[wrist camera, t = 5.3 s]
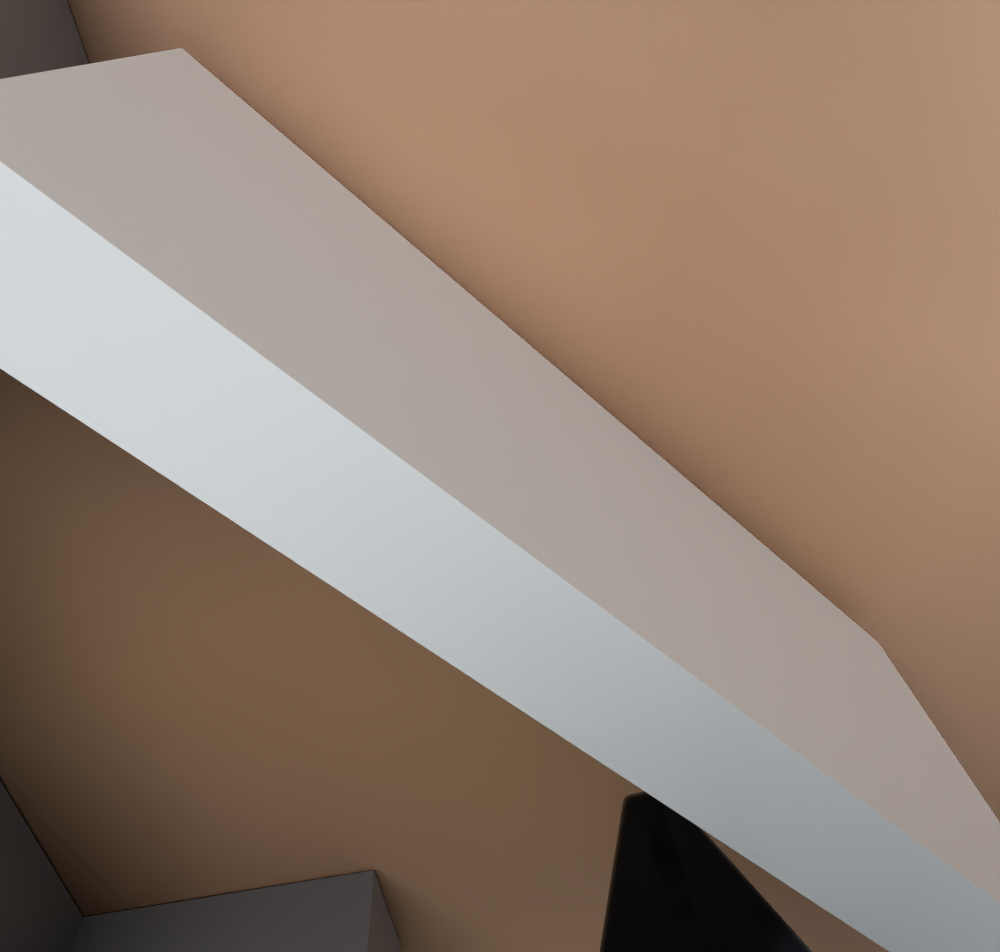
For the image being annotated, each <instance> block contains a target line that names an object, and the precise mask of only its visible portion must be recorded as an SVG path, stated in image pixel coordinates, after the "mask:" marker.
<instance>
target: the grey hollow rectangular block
mask: <svg viewBox="0 0 1000 952" xmlns="http://www.w3.org/2000/svg"><path fill="white" fill-rule="evenodd" d="M85 64H89V62H88V59H87V56H86V53H85V50H84V48H83V45H82V42H81V39H80V36H79V33H78V31H77V28H76V25H75V22H74V19H73V16H72V14H71V11H70V8H69V5H68V2H67V0H0V79H4V78H10V77H16V76H21V75H27V74H33V73H39V72H45V71H50V70H56V69H62V68H68V67H74V66H79V65H85ZM0 952H400V943H399V940H398V937H397V934H396V931H395V929H394V926H393V923H392V920H391V917H390V914H389V912H388V909H387V906H386V903H385V900H384V897H383V895H382V892H381V889H380V886H379V883H378V880H377V878H376V875H375V872H374V870H373V871H366V872H360V873H354V874H348V875H342V876H335V877H329V878H323V879H317V880H311V881H304V882H298V883H292V884H286V885H280V886H274V887H267V888H261V889H255V890H249V891H243V892H236V893H230V894H224V895H218V896H212V897H205V898H199V899H193V900H187V901H181V902H175V903H168V904H162V905H156V906H150V907H144V908H137V909H131V910H125V911H119V912H113V913H106V914H100V915H94V916H88V917H83V916H82V915H81V913H80V912H79V910H78V908H77V907H76V905H75V903H74V902H73V900H72V898H71V897H70V895H69V893H68V892H67V890H66V888H65V887H64V885H63V883H62V882H61V880H60V879H59V877H58V875H57V874H56V872H55V870H54V869H53V867H52V865H51V864H50V862H49V860H48V859H47V857H46V855H45V854H44V852H43V850H42V849H41V847H40V846H39V844H38V842H37V841H36V839H35V837H34V836H33V834H32V832H31V831H30V829H29V827H28V826H27V824H26V822H25V821H24V819H23V817H22V816H21V814H20V813H19V811H18V809H17V808H16V806H15V804H14V803H13V801H12V799H11V798H10V796H9V794H8V793H7V791H6V789H5V788H4V786H3V785H2V783H1V781H0Z"/></svg>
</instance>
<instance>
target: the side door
mask: <svg viewBox="0 0 1000 952" xmlns="http://www.w3.org/2000/svg"><path fill="white" fill-rule="evenodd" d="M0 369H2V370H3V371H5V372H6V373H8V374H9V375H11V376H12V377H14V378H15V379H17V380H18V381H20V382H22V383H23V384H25V385H26V386H28V387H29V388H31V389H32V390H34V391H35V392H37V393H38V394H40V395H41V396H43V397H44V398H46V399H47V400H49V401H50V402H52V403H54V404H55V405H57V406H58V407H60V408H61V409H63V410H64V411H66V412H67V413H69V414H70V415H72V416H73V417H75V418H76V419H78V420H79V421H81V422H82V423H84V424H86V425H87V426H89V427H90V428H92V429H93V430H95V431H96V432H98V433H99V434H101V435H102V436H104V437H105V438H107V439H108V440H110V441H111V442H113V443H114V444H116V445H118V446H119V447H121V448H122V449H124V450H125V451H127V452H128V453H130V454H131V455H133V456H134V457H136V458H137V459H139V460H140V461H142V462H143V463H145V464H146V465H148V466H150V467H151V468H153V469H154V470H156V471H157V472H159V473H160V474H162V475H163V476H165V477H166V478H168V479H169V480H171V481H172V482H174V483H175V484H177V485H178V486H180V487H182V488H183V489H185V490H186V491H188V492H189V493H191V494H192V495H194V496H195V497H197V498H198V499H200V500H201V501H203V502H204V503H206V504H207V505H209V506H211V507H212V508H214V509H215V510H217V511H218V512H220V513H221V514H223V515H224V516H226V517H227V518H229V519H230V520H232V521H233V522H235V523H236V524H238V525H239V526H241V527H243V528H244V529H246V530H247V531H249V532H250V533H252V534H253V535H255V536H256V537H258V538H259V539H261V540H262V541H264V542H265V543H267V544H268V545H270V546H271V547H273V548H275V549H276V550H278V551H279V552H281V553H282V554H284V555H285V556H287V557H288V558H290V559H291V560H293V561H294V562H296V563H297V564H299V565H300V566H302V567H303V568H305V569H307V570H308V571H310V572H311V573H313V574H314V575H316V576H317V577H319V578H320V579H322V580H323V581H325V582H326V583H328V584H329V585H331V586H332V587H334V588H335V589H337V590H339V591H340V592H342V593H343V594H345V595H346V596H348V597H349V598H351V599H352V600H354V601H355V602H357V603H358V604H360V605H361V606H363V607H364V608H366V609H368V610H369V611H371V612H372V613H374V614H375V615H377V616H378V617H380V618H381V619H383V620H384V621H386V622H387V623H389V624H390V625H392V626H393V627H395V628H396V629H398V630H400V631H401V632H403V633H404V634H406V635H407V636H409V637H410V638H412V639H413V640H415V641H416V642H418V643H419V644H421V645H422V646H424V647H425V648H427V649H428V650H430V651H432V652H433V653H435V654H436V655H438V656H439V657H441V658H442V659H444V660H445V661H447V662H448V663H450V664H451V665H453V666H454V667H456V668H457V669H459V670H460V671H462V672H464V673H465V674H467V675H468V676H470V677H471V678H473V679H474V680H476V681H477V682H479V683H480V684H482V685H483V686H485V687H486V688H488V689H489V690H491V691H492V692H494V693H496V694H497V695H499V696H500V697H502V698H503V699H505V700H506V701H508V702H509V703H511V704H512V705H514V706H515V707H517V708H518V709H520V710H521V711H523V712H525V713H526V714H528V715H529V716H531V717H532V718H534V719H535V720H537V721H538V722H540V723H541V724H543V725H544V726H546V727H547V728H549V729H550V730H552V731H553V732H555V733H557V734H558V735H560V736H561V737H563V738H564V739H566V740H567V741H569V742H570V743H572V744H573V745H575V746H576V747H578V748H579V749H581V750H582V751H584V752H585V753H587V754H589V755H590V756H592V757H593V758H595V759H596V760H598V761H599V762H601V763H602V764H604V765H605V766H607V767H608V768H610V769H611V770H613V771H614V772H616V773H617V774H619V775H621V776H622V777H624V778H625V779H627V780H628V781H630V782H631V783H633V784H634V785H636V786H637V787H639V788H640V789H642V790H643V791H645V792H646V793H648V794H649V795H651V796H653V797H654V798H656V799H657V800H659V801H660V802H662V803H663V804H665V805H666V806H668V807H669V808H671V809H672V810H674V811H675V812H677V813H678V814H680V815H681V816H683V817H685V818H686V819H688V820H689V821H691V822H692V823H694V824H695V825H697V826H698V827H700V828H701V829H703V830H704V831H706V832H707V833H709V834H710V835H712V836H714V837H715V838H717V839H718V840H720V841H721V842H723V843H724V844H726V845H727V846H729V847H730V848H732V849H733V850H735V851H736V852H738V853H739V854H741V855H742V856H744V857H746V858H747V859H749V860H750V861H752V862H753V863H755V864H756V865H758V866H759V867H761V868H762V869H764V870H765V871H767V872H768V873H770V874H771V875H773V876H774V877H776V878H778V879H779V880H781V881H782V882H784V883H785V884H787V885H788V886H790V887H791V888H793V889H794V890H796V891H797V892H799V893H800V894H802V895H803V896H805V897H806V898H808V899H810V900H811V901H813V902H814V903H816V904H817V905H819V906H820V907H822V908H823V909H825V910H826V911H828V912H829V913H831V914H832V915H834V916H835V917H837V918H838V919H840V920H842V921H843V922H845V923H846V924H848V925H849V926H851V927H852V928H854V929H855V930H857V931H858V932H860V933H861V934H863V935H864V936H866V937H867V938H869V939H871V940H872V941H874V942H875V943H877V944H878V945H880V946H881V947H883V948H884V949H886V950H887V951H889V952H1000V822H999V820H998V819H997V817H996V816H995V815H994V813H993V812H992V810H991V809H990V807H989V806H988V804H987V803H986V801H985V800H984V798H983V797H982V795H981V794H980V792H979V791H978V789H977V788H976V786H975V785H974V783H973V782H972V780H971V779H970V777H969V776H968V775H967V773H966V772H965V770H964V769H963V767H962V766H961V764H960V763H959V761H958V760H957V758H956V757H955V755H954V754H953V752H952V751H951V749H950V748H949V746H948V745H947V743H946V742H945V740H944V739H943V737H942V736H941V735H940V733H939V732H938V730H937V729H936V727H935V726H934V724H933V723H932V721H931V720H930V718H929V717H928V715H927V714H926V712H925V711H924V709H923V708H922V706H921V705H920V703H919V702H918V700H917V699H916V697H915V696H914V695H913V693H912V692H911V690H910V689H909V687H908V686H907V684H906V683H905V681H904V680H903V678H902V677H901V675H900V674H899V672H898V671H897V669H896V668H895V666H894V665H893V663H892V662H891V660H890V659H889V658H888V656H887V655H886V653H885V652H884V650H883V649H882V647H881V646H880V644H879V643H878V642H877V641H876V640H875V639H874V638H873V637H871V636H870V635H869V634H868V633H867V632H866V631H864V630H863V629H862V628H861V627H860V626H858V625H857V624H856V623H855V622H854V621H853V620H851V619H850V618H849V617H848V616H847V615H846V614H844V613H843V612H842V611H841V610H840V609H839V608H837V607H836V606H835V605H834V604H833V603H832V602H830V601H829V600H828V599H827V598H826V597H824V596H823V595H822V594H821V593H820V592H819V591H817V590H816V589H815V588H814V587H813V586H812V585H810V584H809V583H808V582H807V581H806V580H805V579H803V578H802V577H801V576H800V575H799V574H798V573H796V572H795V571H794V570H793V569H792V568H790V567H789V566H788V565H787V564H786V563H785V562H783V561H782V560H781V559H780V558H779V557H778V556H776V555H775V554H774V553H773V552H772V551H771V550H769V549H768V548H767V547H766V546H765V545H764V544H762V543H761V542H760V541H759V540H758V539H757V538H755V537H754V536H753V535H752V534H751V533H749V532H748V531H747V530H746V529H745V528H744V527H742V526H741V525H740V524H739V523H738V522H737V521H735V520H734V519H733V518H732V517H731V516H730V515H728V514H727V513H726V512H725V511H724V510H723V509H721V508H720V507H719V506H718V505H717V504H715V503H714V502H713V501H712V500H711V499H710V498H708V497H707V496H706V495H705V494H704V493H703V492H701V491H700V490H699V489H698V488H697V487H696V486H694V485H693V484H692V483H691V482H690V481H689V480H687V479H686V478H685V477H684V476H683V475H681V474H680V473H679V472H678V471H677V470H676V469H674V468H673V467H672V466H671V465H670V464H669V463H667V462H666V461H665V460H664V459H663V458H662V457H660V456H659V455H658V454H657V453H656V452H655V451H653V450H652V449H651V448H650V447H649V446H648V445H646V444H645V443H644V442H643V441H642V440H640V439H639V438H638V437H637V436H636V435H635V434H633V433H632V432H631V431H630V430H629V429H628V428H626V427H625V426H624V425H623V424H622V423H621V422H619V421H618V420H617V419H616V418H615V417H614V416H612V415H611V414H610V413H609V412H608V411H606V410H605V409H604V408H603V407H602V406H601V405H599V404H598V403H597V402H596V401H595V400H594V399H592V398H591V397H590V396H589V395H588V394H587V393H585V392H584V391H583V390H582V389H581V388H580V387H578V386H577V385H576V384H575V383H574V382H572V381H571V380H570V379H569V378H568V377H567V376H565V375H564V374H563V373H562V372H561V371H560V370H558V369H557V368H556V367H555V366H554V365H553V364H551V363H550V362H549V361H548V360H547V359H546V358H544V357H543V356H542V355H541V354H540V353H539V352H537V351H536V350H535V349H534V348H533V347H531V346H530V345H529V344H528V343H527V342H526V341H524V340H523V339H522V338H521V337H520V336H519V335H517V334H516V333H515V332H514V331H513V330H512V329H510V328H509V327H508V326H507V325H506V324H505V323H503V322H502V321H501V320H500V319H499V318H497V317H496V316H495V315H494V314H493V313H492V312H490V311H489V310H488V309H487V308H486V307H485V306H483V305H482V304H481V303H480V302H479V301H478V300H476V299H475V298H474V297H473V296H472V295H471V294H469V293H468V292H467V291H466V290H465V289H464V288H462V287H461V286H460V285H459V284H458V283H456V282H455V281H454V280H453V279H452V278H451V277H449V276H448V275H447V274H446V273H445V272H444V271H442V270H441V269H440V268H439V267H438V266H437V265H435V264H434V263H433V262H432V261H431V260H430V259H428V258H427V257H426V256H425V255H424V254H422V253H421V252H420V251H419V250H418V249H417V248H415V247H414V246H413V245H412V244H411V243H410V242H408V241H407V240H406V239H405V238H404V237H403V236H401V235H400V234H399V233H398V232H397V231H396V230H394V229H393V228H392V227H391V226H390V225H388V224H387V223H386V222H385V221H384V220H383V219H381V218H380V217H379V216H378V215H377V214H376V213H374V212H373V211H372V210H371V209H370V208H369V207H367V206H366V205H365V204H364V203H363V202H362V201H360V200H359V199H358V198H357V197H356V196H355V195H353V194H352V193H351V192H350V191H349V190H347V189H346V188H345V187H344V186H343V185H342V184H340V183H339V182H338V181H337V180H336V179H335V178H333V177H332V176H331V175H330V174H329V173H328V172H326V171H325V170H324V169H323V168H322V167H321V166H319V165H318V164H317V163H316V162H315V161H313V160H312V159H311V158H310V157H309V156H308V155H306V154H305V153H304V152H303V151H302V150H301V149H299V148H298V147H297V146H296V145H295V144H294V143H292V142H291V141H290V140H289V139H288V138H287V137H285V136H284V135H283V134H282V133H281V132H279V131H278V130H277V129H276V128H275V127H274V126H272V125H271V124H270V123H269V122H268V121H267V120H265V119H264V118H263V117H262V116H261V115H260V114H258V113H257V112H256V111H255V110H254V109H253V108H251V107H250V106H249V105H248V104H247V103H246V102H244V101H243V100H242V99H241V98H240V97H238V96H237V95H236V94H235V93H234V92H233V91H231V90H230V89H229V88H228V87H227V86H226V85H224V84H223V83H222V82H221V81H220V80H219V79H217V78H216V77H215V76H214V75H213V74H212V73H210V72H209V71H208V70H207V69H206V68H204V67H203V66H202V65H201V64H200V63H199V62H197V61H196V60H195V59H194V58H193V57H192V56H190V55H189V54H188V53H187V52H186V51H185V50H183V49H182V48H178V49H172V50H166V51H161V52H155V53H149V54H143V55H137V56H132V57H126V58H120V59H114V60H108V61H103V62H97V63H91V64H85V65H79V66H74V67H68V68H62V69H56V70H50V71H45V72H39V73H33V74H27V75H21V76H16V77H10V78H4V79H0Z"/></svg>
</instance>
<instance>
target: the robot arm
mask: <svg viewBox="0 0 1000 952" xmlns="http://www.w3.org/2000/svg"><path fill="white" fill-rule="evenodd" d="M600 952H812V951H811V950H810V949H809V948H808V946H807V945H806V944H805V943H804V942H803V941H802V940H801V939H800V938H799V936H798V935H797V934H796V933H795V932H794V931H793V930H792V929H791V928H790V926H789V925H788V924H787V923H786V922H785V921H784V920H783V919H782V917H781V916H780V915H779V914H778V913H777V912H776V911H775V910H774V909H773V907H772V906H771V905H770V904H769V903H768V902H767V901H766V900H765V899H764V897H763V896H762V895H761V894H760V893H759V892H758V891H757V890H756V889H755V887H754V886H753V885H752V884H751V883H750V882H749V881H748V880H747V879H746V877H745V876H744V875H743V874H742V873H741V872H740V871H739V870H738V869H737V867H736V866H735V865H734V864H733V863H732V862H731V861H730V860H729V859H728V857H727V856H726V855H725V854H724V853H723V852H722V851H721V850H720V849H719V847H718V846H717V845H716V844H715V843H714V842H713V841H712V840H711V839H710V837H709V836H708V835H707V834H706V833H705V832H704V831H703V830H702V829H701V828H700V827H698V826H697V825H695V824H694V823H692V822H691V821H689V820H688V819H686V818H685V817H683V816H681V815H680V814H678V813H677V812H675V811H674V810H672V809H671V808H669V807H668V806H666V805H665V804H663V803H662V802H660V801H659V800H657V799H656V798H654V797H653V796H651V795H649V794H648V793H646V792H640V793H635V794H630V795H627V796H626V797H625V799H624V801H623V806H622V812H621V818H620V825H619V831H618V838H617V844H616V851H615V857H614V863H613V870H612V876H611V883H610V889H609V896H608V902H607V909H606V915H605V921H604V928H603V934H602V941H601V947H600Z"/></svg>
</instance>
